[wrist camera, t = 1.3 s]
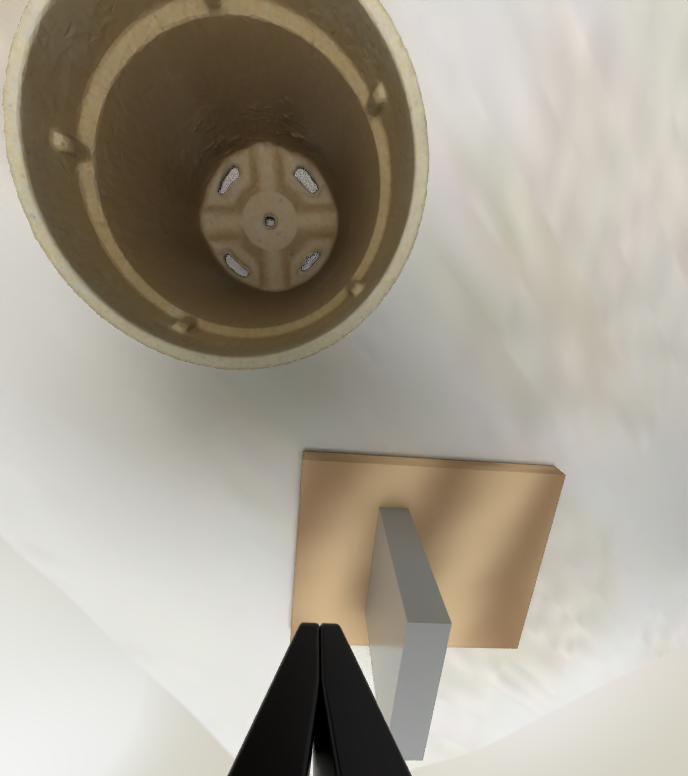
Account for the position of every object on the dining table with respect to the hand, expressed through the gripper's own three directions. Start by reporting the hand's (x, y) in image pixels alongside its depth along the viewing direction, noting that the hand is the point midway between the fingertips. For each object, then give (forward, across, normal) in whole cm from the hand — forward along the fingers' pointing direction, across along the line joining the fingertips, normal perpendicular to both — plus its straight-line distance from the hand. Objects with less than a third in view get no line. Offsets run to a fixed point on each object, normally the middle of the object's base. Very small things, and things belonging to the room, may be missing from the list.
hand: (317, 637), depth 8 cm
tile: (+11, -4, +7) cm, 14 cm away
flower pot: (+12, +3, -10) cm, 16 cm away
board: (+12, -6, +7) cm, 15 cm away
